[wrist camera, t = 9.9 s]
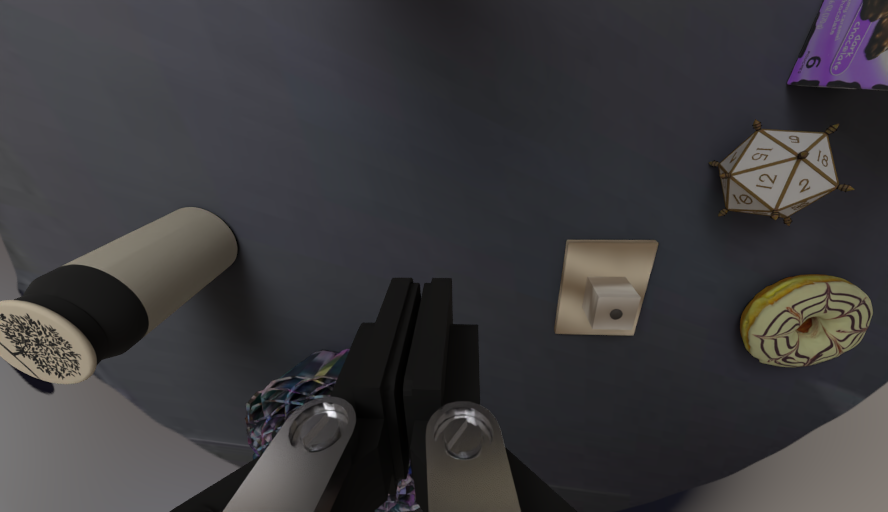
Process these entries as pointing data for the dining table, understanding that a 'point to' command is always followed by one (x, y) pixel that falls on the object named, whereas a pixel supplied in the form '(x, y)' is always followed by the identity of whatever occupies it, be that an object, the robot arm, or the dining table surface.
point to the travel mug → (113, 295)
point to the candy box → (846, 47)
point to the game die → (778, 172)
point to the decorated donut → (805, 320)
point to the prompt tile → (600, 265)
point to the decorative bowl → (298, 389)
